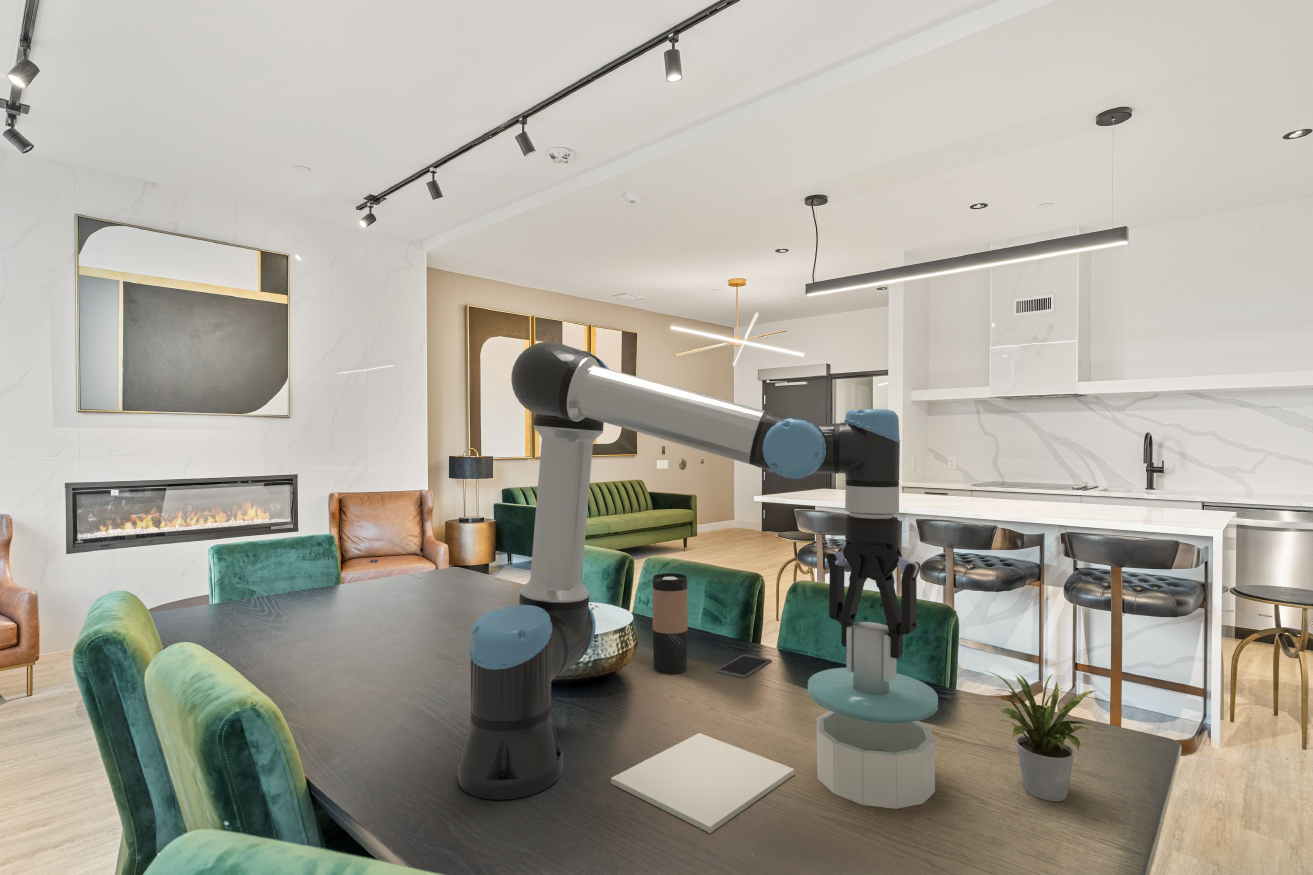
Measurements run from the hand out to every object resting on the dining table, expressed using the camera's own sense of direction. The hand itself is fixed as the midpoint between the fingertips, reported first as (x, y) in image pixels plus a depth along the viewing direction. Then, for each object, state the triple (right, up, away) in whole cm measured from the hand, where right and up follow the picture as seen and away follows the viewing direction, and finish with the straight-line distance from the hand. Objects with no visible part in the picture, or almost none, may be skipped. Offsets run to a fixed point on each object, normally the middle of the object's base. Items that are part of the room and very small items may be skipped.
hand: (871, 674), depth 96 cm
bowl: (0, -15, 0) cm, 15 cm away
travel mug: (-28, -16, +47) cm, 57 cm away
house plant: (+22, -15, -4) cm, 27 cm away
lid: (0, -3, 0) cm, 3 cm away
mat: (-24, -15, 0) cm, 29 cm away
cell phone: (-12, -16, +48) cm, 52 cm away
